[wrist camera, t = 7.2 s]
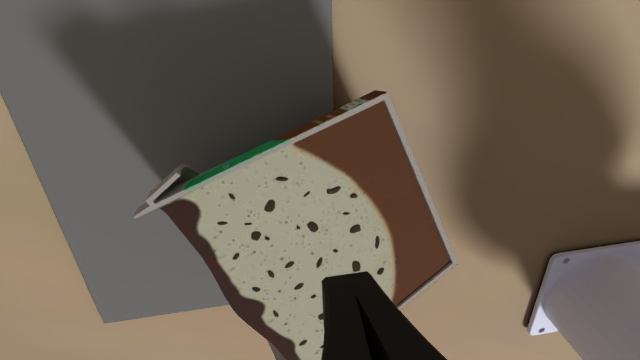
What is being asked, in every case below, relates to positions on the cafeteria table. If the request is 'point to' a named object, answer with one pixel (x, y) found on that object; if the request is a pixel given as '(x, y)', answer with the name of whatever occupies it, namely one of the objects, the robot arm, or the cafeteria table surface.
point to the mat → (153, 120)
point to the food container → (311, 221)
